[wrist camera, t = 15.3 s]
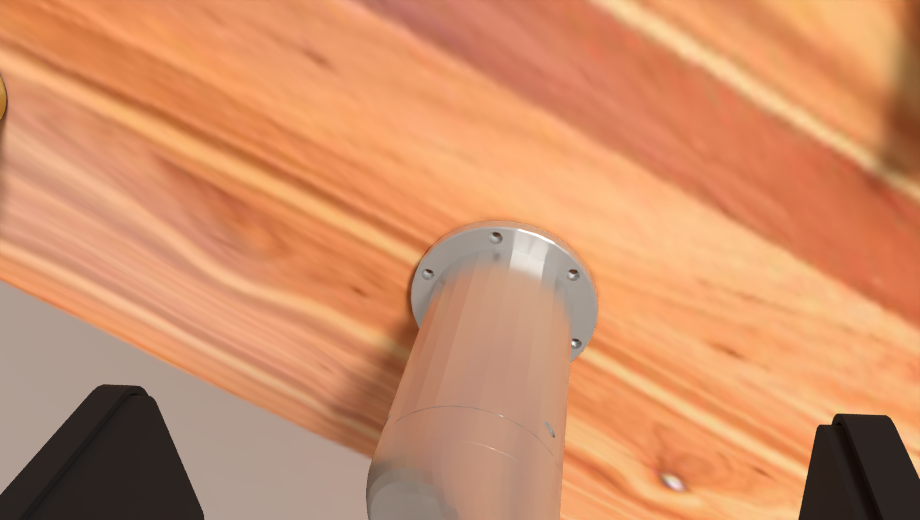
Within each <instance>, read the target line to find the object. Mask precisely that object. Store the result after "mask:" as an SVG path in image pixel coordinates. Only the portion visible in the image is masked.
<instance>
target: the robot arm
mask: <svg viewBox="0 0 920 520" xmlns="http://www.w3.org/2000/svg"><path fill="white" fill-rule="evenodd" d="M494 232H498V233H500V234H496V233H494ZM429 269H430V270H429ZM572 269H574V270H572ZM411 305H412V310H413V315H414V318H415V320H416V323H417V325H418V328H419V332H418V335H417V337H416V340H415V343H414V346H413V348H412V351H411V354H410V357H409V359H408V362H407V365H406V367H405V370H404V373H403V376H402V378H401V381H400V384H399V387H398V389H397V392H396V395H395V398H394V400H393V403H392V406H391V409H390V411H389V414H388V417H387V420H386V422H385V425H384V428H383V431H382V434H381V436H380V439H379V442H378V445H377V448H376V450H375V453H374V456H373V459H372V462H371V465H370V469H369V473H368V480H367V488H366V501H367V513H368V518H369V520H560V505H561V490H562V473H563V459H564V444H565V430H566V416H567V401H568V387H569V373H570V363H571V362H572V361H573V360H574V359H575V358H576V357H577V356H578V355H579V354H580V353H582V352H583V350H584V349H585V347H586V346H587V344H588V343H589V341H590V340H591V338H592V335H593V332H594V330H595V327H596V323H597V314H598V295H597V291H596V287H595V283H594V280H593V278H592V276H591V274H590V272H589V270H588V268H587V266H586V264H585V263H584V262H583V261H582V259H581V258H580V257H579V256H578V254H577V253H576V252H575V251H574V250H573V249H572V248H570V247H569V246H568V245H567V244H566V243H565V242H563V241H562V240H560V239H559V238H557V237H555V236H554V235H552V234H550V233H549V232H547V231H544V230H542V229H539V228H537V227H534V226H531V225H528V224H523V223H518V222H513V221H498V220H490V221H483V222H476V223H472V224H469V225H466V226H463V227H460V228H457V229H455V230H453V231H451V232H450V233H448V234H446V235H444V236H443V237H441V238H440V239H439V240H438V241H437V242H436V243H434V244H433V245H432V246H431V247H430V248H429V250H428V251H427V252H426V254H425V255H424V256H423V258H422V259H421V261H420V264H419V266H418V268H417V270H416V273H415V276H414V279H413V283H412V287H411ZM0 520H204V514H203V511H202V509H201V506H200V504H199V502H198V499H197V497H196V494H195V492H194V490H193V488H192V485H191V483H190V480H189V478H188V476H187V473H186V471H185V469H184V466H183V464H182V462H181V459H180V457H179V455H178V452H177V450H176V448H175V445H174V443H173V440H172V438H171V436H170V434H169V431H168V429H167V426H166V424H165V422H164V419H163V417H162V415H161V412H160V410H159V408H158V405H157V403H156V401H155V400H154V398H152V397H151V396H148V394H147V392H146V391H145V389H143V388H142V387H140V386H130V385H107V384H106V385H105V384H104V385H101V386H98V387H97V388H96V389H95V390H93V391H92V392H91V393H90V394H89V395H88V397H87V398H86V399H85V400H84V401H83V402H82V403H81V404H80V406H79V407H78V408H77V409H76V410H75V411H74V412H73V414H72V415H71V416H70V417H69V418H68V419H67V420H66V421H65V423H64V424H63V425H62V426H61V427H60V428H59V429H58V430H57V432H56V433H55V434H54V435H53V436H52V437H51V438H50V439H49V441H48V442H47V443H46V444H45V445H44V446H43V447H42V449H41V450H40V451H39V452H38V453H37V454H36V455H35V456H34V458H33V459H32V460H31V461H30V462H29V463H28V464H27V465H26V467H25V468H24V469H23V470H22V471H21V472H20V473H19V474H18V476H17V477H16V478H15V479H14V480H13V481H12V482H11V483H10V485H9V486H8V487H7V488H6V489H5V490H4V491H3V493H2V494H1V495H0ZM799 520H920V479H919V477H918V474H917V472H916V470H915V468H914V466H913V464H912V461H911V459H910V457H909V455H908V453H907V451H906V449H905V446H904V444H903V442H902V440H901V438H900V436H899V433H898V431H897V429H896V427H895V425H894V423H893V422H892V420H891V418H889V417H888V416H887V415H862V414H836V415H835V417H834V418H833V421H832V425H819V426H818V427H817V431H816V435H815V440H814V445H813V450H812V455H811V460H810V465H809V470H808V475H807V480H806V485H805V490H804V495H803V500H802V505H801V510H800V515H799Z"/></svg>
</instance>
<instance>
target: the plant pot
mask: <svg viewBox="0 0 920 520" xmlns="http://www.w3.org/2000/svg"><path fill="white" fill-rule="evenodd" d="M5 108H6V90H5V86H4V83H3V80H2V78H1V76H0V119H1V118H2V116H3V114H4V112H5Z"/></svg>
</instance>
